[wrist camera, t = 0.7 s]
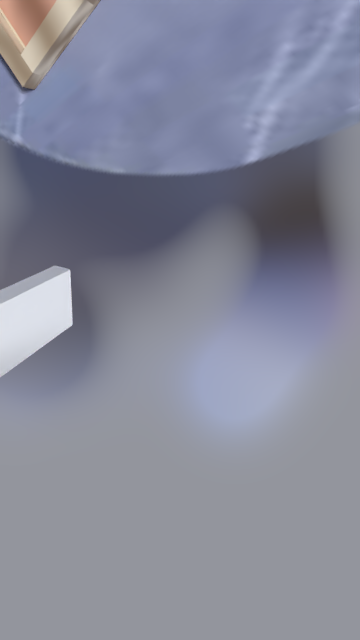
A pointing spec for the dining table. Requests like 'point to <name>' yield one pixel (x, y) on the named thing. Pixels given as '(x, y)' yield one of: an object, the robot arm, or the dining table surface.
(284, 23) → the dining table surface
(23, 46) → the divided wooden sorting tray
